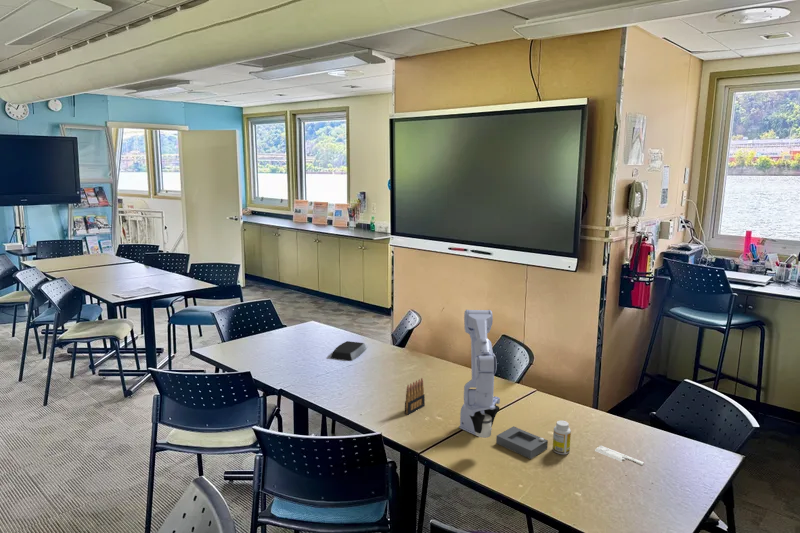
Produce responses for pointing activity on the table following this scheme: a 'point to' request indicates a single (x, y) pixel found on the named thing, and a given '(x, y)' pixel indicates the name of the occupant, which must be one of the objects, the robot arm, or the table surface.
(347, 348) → the external hard drive
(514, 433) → the grey panel with knob
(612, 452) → the white plastic blade
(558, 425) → the supplement bottle
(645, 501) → the table surface
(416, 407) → the ammunition clip
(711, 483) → the table surface
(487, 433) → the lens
